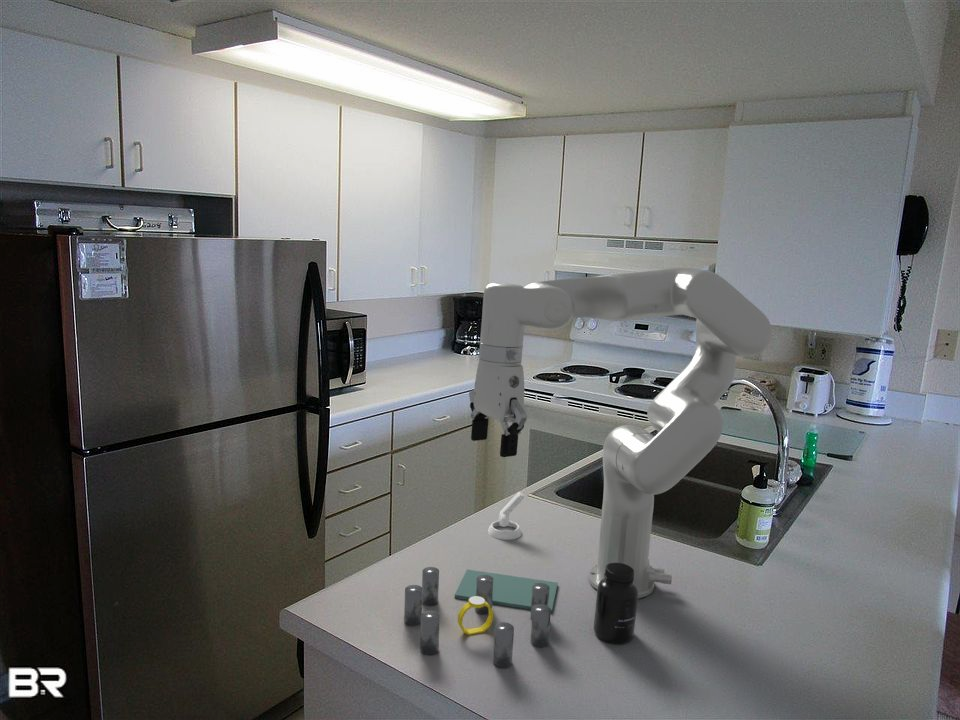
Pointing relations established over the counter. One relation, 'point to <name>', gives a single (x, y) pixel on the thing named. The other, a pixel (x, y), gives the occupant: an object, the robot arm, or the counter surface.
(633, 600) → the supplement bottle
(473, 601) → the watch
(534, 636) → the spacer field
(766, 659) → the counter surface
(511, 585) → the mat
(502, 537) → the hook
